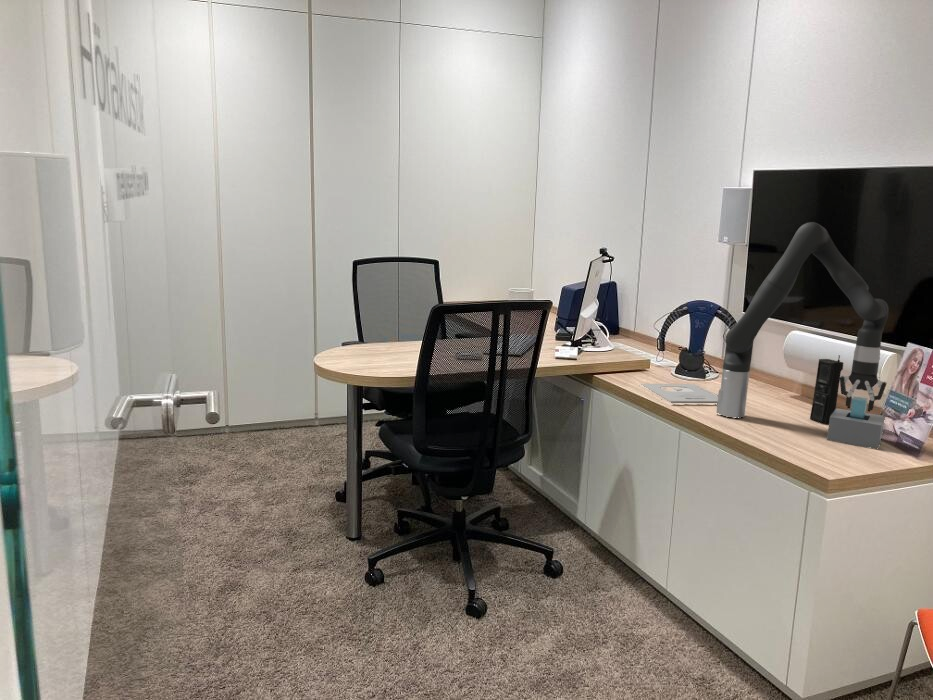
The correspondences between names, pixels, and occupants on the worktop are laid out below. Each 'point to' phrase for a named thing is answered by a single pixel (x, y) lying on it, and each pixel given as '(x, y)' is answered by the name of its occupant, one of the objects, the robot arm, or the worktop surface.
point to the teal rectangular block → (858, 408)
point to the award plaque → (683, 393)
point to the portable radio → (826, 390)
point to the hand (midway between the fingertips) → (859, 409)
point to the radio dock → (855, 429)
